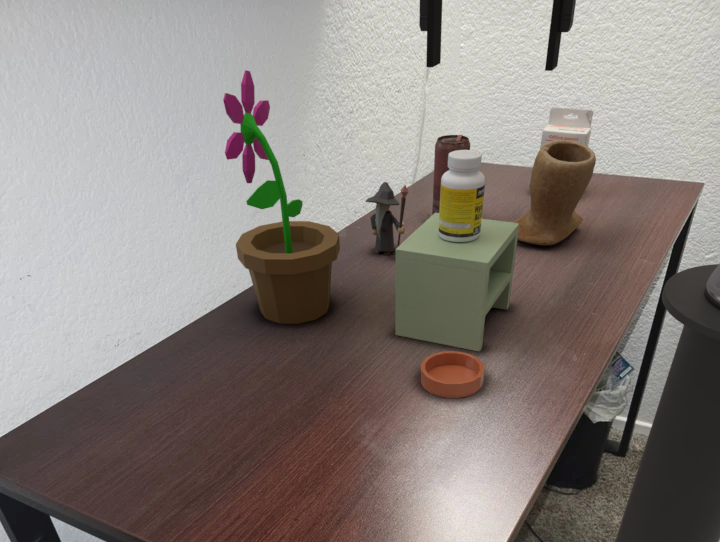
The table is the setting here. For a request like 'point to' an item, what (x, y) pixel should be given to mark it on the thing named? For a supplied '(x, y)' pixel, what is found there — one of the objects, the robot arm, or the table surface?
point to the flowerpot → (279, 228)
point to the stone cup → (556, 192)
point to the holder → (452, 374)
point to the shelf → (453, 282)
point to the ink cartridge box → (568, 126)
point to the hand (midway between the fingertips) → (490, 67)
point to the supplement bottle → (461, 197)
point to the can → (445, 161)
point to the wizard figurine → (386, 218)
